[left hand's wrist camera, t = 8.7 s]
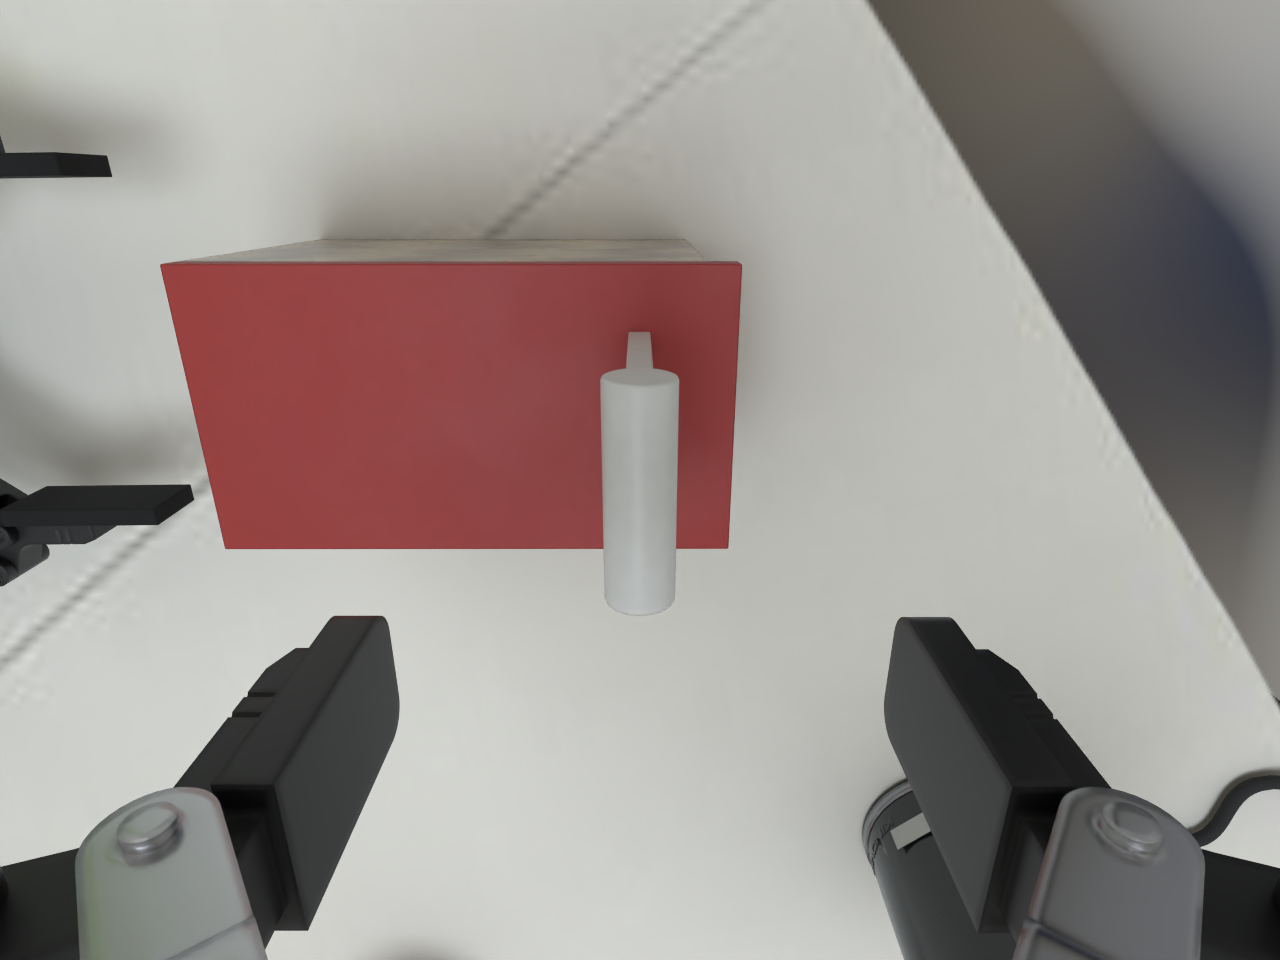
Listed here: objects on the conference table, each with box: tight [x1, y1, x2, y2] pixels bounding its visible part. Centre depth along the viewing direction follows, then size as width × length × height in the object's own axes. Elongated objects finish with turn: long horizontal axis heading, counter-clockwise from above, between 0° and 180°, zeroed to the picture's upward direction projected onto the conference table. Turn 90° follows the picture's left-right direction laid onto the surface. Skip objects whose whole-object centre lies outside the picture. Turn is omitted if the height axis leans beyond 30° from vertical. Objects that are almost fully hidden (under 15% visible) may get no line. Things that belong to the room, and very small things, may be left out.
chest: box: [180, 240, 706, 262], centre depth 31 cm, size 17×10×11 cm, turn 90°
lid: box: [160, 261, 742, 616], centre depth 22 cm, size 18×10×9 cm, turn 90°
